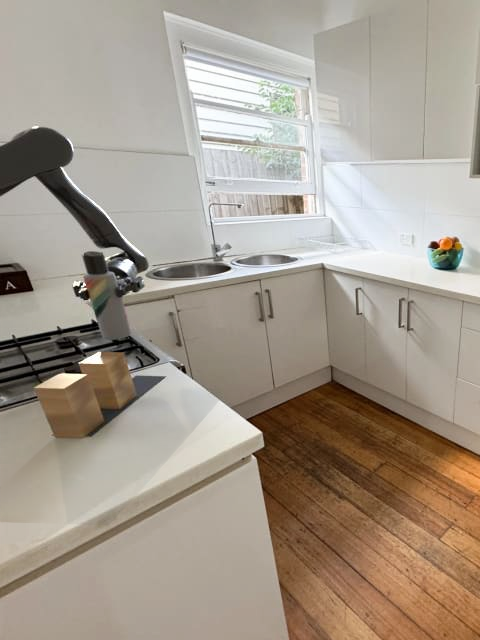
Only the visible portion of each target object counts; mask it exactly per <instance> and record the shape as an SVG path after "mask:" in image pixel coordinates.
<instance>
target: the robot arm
mask: <svg viewBox="0 0 480 640" xmlns="http://www.w3.org/2000/svg"><path fill="white" fill-rule="evenodd" d="M74 151H75V150H74V147H73V143H72V142H71V141H70V139H69V138H68V137H67V136H66V135H64V134H63V133H62V132H60V131H58V130H56V129H53V128H51V127H47V126H33V127H30V128H27V129H26V130H25V129H24V130H23V131H21V132H18V133H16V134H15V135H13V137H12V138H11V140H9V141H8V142H6V143H3V144H2V145H0V198H1V197H2V196H4V195H6V194H9V192H11V191H13V190H14V189H15V188H17V187H19V186H20V185H21V184H23V183H24V182H27V181H28V180H30V179H32V178H36V179H37V180H38V182H40V183H41V184H42V185H43V186H44V188H46V189H47V190H48V192H50V194H51V195H52V196H53V197H54V198H56V200H57V201H58V202H59V203H60V204H61V205H62V206H63V207H64V208H65V209H66V210H67V211H68V213H69V215H71V216H72V218H73V219H74V220H75V221H76V222H77V224H78V225H79V226H80V227H81V229H82V230H83V231H84V232H85V233H86V235H87V236H88V238H89V239H90V240H91V241H92V243H93V244H94V245H95V247H96V248H98V249H100V250H101V249H103V250H105V249H111V248H117V249H120V251H121V250H122V251H121V252H118V253H116V254H112V255H110V256H108V257H105V260H106V263H107V266H108V270H109V272H113V273H114V274H115V277H116V280H117V283H118V287H117V288H116V291H117V295H118V298H121V297H122V298H123V297H124V296H126V295H128V294H130V292H132V293H139V292H140V291H141V290H142V289H143V288H145V287H146V285H145V281H144V277H143V276H140V275H139V276H137V275H138V274H141V273H143V272H145V271H146V272H147V270H148V269H149V266H150V263H149V260H148V258H147V256H145V254H144V253H143V252H142V251H141V250H139V249H138V248H137V247H136V246H135V245H133V244H132V243H131V242H130V241H129V240H128V239H126V237H125V236H123V234H122V233H121V231H120V230H119V229H118V227H117V226H116V224H115V223H114V221H112V219H111V218H110V217H109V215H108V214H107V213H106V212H105V210H103V208H102V207H100V206H99V205H98V204H97V203H95V201H94V200H92V199H91V198H90V197H88V196H87V195H86V194H85V193H83V191H81V189H79V188H78V186H76V185H75V183H74V182H73V181H72V180H71V179H70V178H69V176H68V175H67V173H66V171H65V170H64V168H65V167H67V166H68V165H69V164H71V162H72V161H73V159H74V156H75V155H74V153H75V152H74ZM72 290H73V293H74V295H75V297H76V298H80V300H83V301H89V300H90V297H89V294H88V291H87V288H86V285H85V282H83V281H81V280H78V279H77V280H74V281H73V283H72Z"/></svg>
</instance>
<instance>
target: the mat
mask: <svg viewBox="0 0 480 640" xmlns="http://www.w3.org/2000/svg"><path fill="white" fill-rule="evenodd" d="M131 378H132V381H133V384H134V387H135V391H136V394H137V396H136V397H135V398H134V399H132V400H131V401H130V402H128V403H127V404H126V405H125V406H123V407H122V408H121V409H100V410H101V413H102V415H103V418H104V422H103V423H102V424H100V425H99V426H98V427H97V428H95V429H94V430H93V431H91V432H90V433H89V434H88V435H86V436H85V437H86V438H87V437H90V438H92V437H93V436H94V435H96V434H97V433H98V432H99V431H100V430H102V429H103V428H105V426H107V425H108V424H109V423H111V422H112V421H113V420H114V419H115V418H117V417H118V416H119V415H121V414H122V413H123V412H124V411H125V410H127V409H128V408H129V407H130V406H132V405H133V404H134V403H136V401H138V400H139V399H140V398H142V397H143V396H145V394H147V393H148V392H149V391H150V390H152V389H153V388H154V387H155V386H157V385H158V384H159V383H160V382H162V381H163V380H164V379H166V378H167V376H166V375H134V376H133V377H131ZM51 436H52V437H55V436H54V434H53V433H52V434H51ZM85 437H84V438H85Z"/></svg>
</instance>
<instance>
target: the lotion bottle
mask: <svg viewBox="0 0 480 640" xmlns="http://www.w3.org/2000/svg"><path fill="white" fill-rule="evenodd" d="M81 257H82V261H83V264H84V267H85V271H86V274H84V275H82V278H83V281H84V282H83V283H85V285H86V288H87V291H88V294H89V297H90V298H89V300H90V304H91V306H92V310H93V312H94V316H95V319H96V322H97V325H98V328H99V332H100V335H101V337H102V338H103V340H106V341H114V340H116V341H117V340H121V339H125V338H128V337H129V336H131V334H132V329H131V326H130V325H131V324H130V321H129V319H128V315H127V311H126V308H125V306H124V304H125V303H124V301H123V297H121V298H118V295H117V291H116V288H117V287H118V283H117V280H116V277H115V274H114V273H113V272H109V270H108V266H107V263H106V260H105V259H106V257H105V253H104V252H102V251H101V252H99V251H91V250H90V251H85V252H83V254H81Z"/></svg>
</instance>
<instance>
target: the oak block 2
mask: <svg viewBox="0 0 480 640" xmlns="http://www.w3.org/2000/svg"><path fill="white" fill-rule="evenodd" d="M78 366H79V369H80V372H81V374H88V376H89V379H90V382H91V385H92V388H93V390H94V393H95V396H96V399H97V401H98V404H99V407H100V409H121V408H122V407H123V406H125V405H126V404H127V403H128V402H130V401H131V400H132V399H134V398H135V397H136V396H137V394H136V391H135V387H134V384H133V381H132V378H133V377H132V375H131V371H130V368H129V365H128V361H127V358H126V355H125V352H118V351H117V352H114V351H113V352H112V351H97V352H95V353H94V354H92V355H91V356H88V357H86V358H85V359H83V360H82V361H79V362H78Z"/></svg>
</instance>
